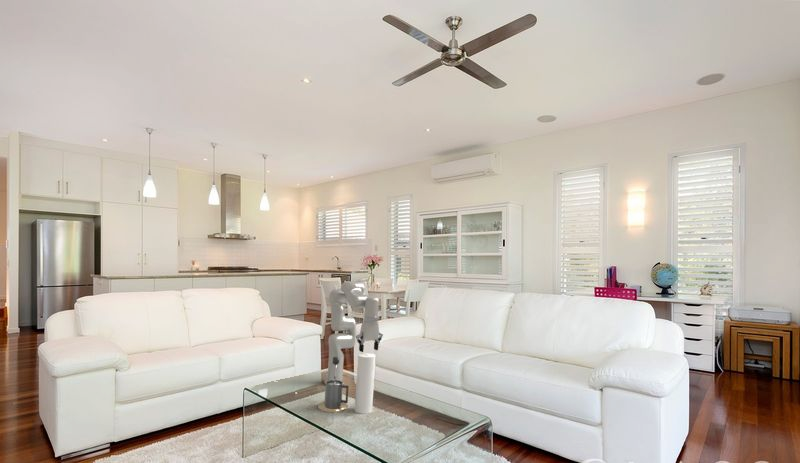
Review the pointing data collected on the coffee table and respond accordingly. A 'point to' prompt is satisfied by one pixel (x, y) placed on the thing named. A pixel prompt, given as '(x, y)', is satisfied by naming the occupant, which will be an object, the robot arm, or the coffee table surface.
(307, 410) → the coffee table surface
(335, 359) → the plunger
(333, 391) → the press carafe
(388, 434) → the coffee table surface
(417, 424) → the coffee table surface
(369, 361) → the cylinder container
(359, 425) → the coffee table surface
